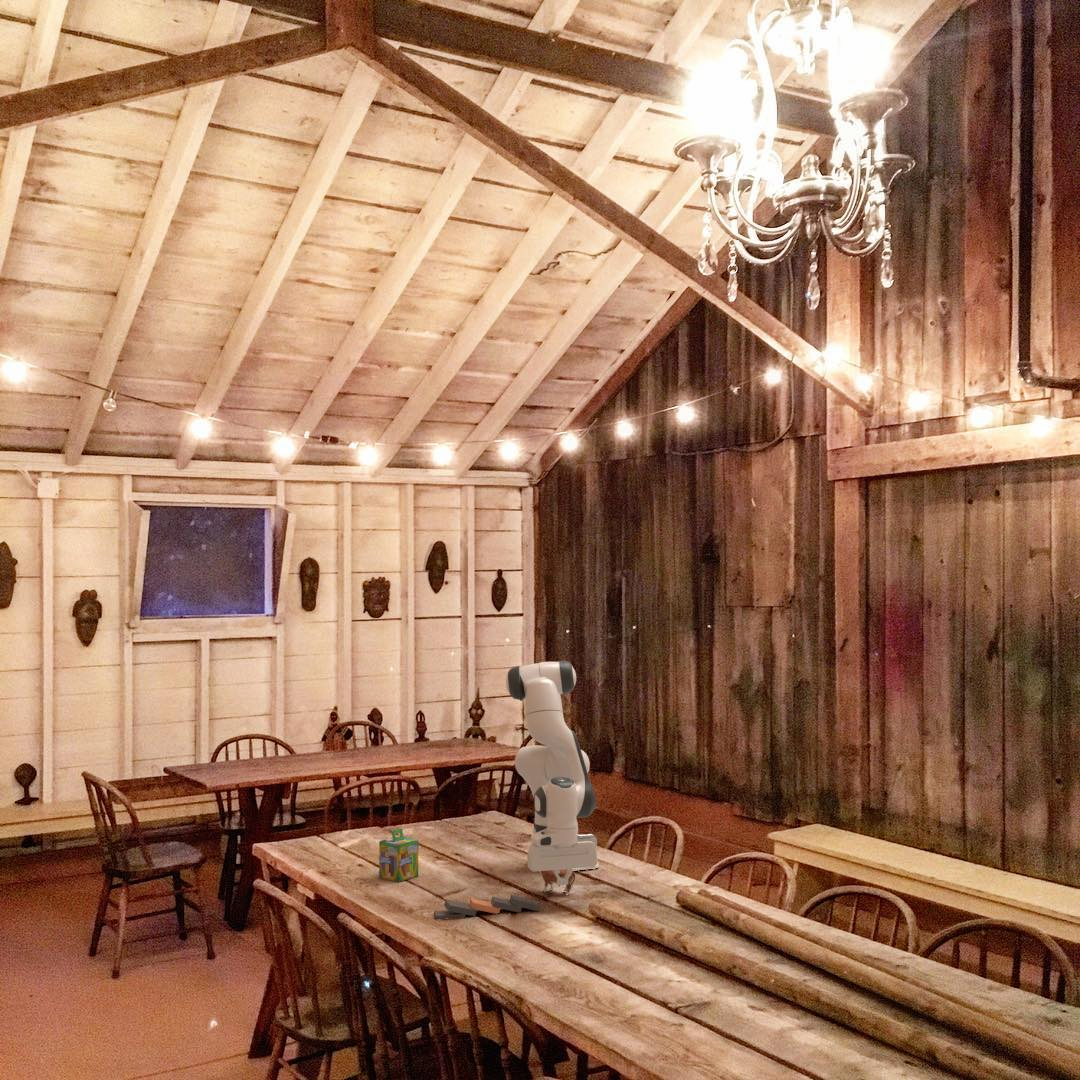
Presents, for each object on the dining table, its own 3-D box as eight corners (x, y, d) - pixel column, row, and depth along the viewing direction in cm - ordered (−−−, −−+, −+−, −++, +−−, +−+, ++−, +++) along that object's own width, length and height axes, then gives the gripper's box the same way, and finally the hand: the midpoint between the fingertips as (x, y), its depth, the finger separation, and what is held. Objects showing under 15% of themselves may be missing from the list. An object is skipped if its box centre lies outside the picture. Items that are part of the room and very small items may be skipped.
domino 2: (471, 905, 306) (445, 900, 303) (476, 910, 301) (449, 905, 299) (470, 910, 306) (443, 905, 303) (475, 916, 301) (448, 911, 298)
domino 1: (462, 909, 305) (433, 910, 303) (465, 914, 300) (436, 916, 298) (462, 914, 305) (433, 916, 303) (465, 919, 300) (436, 921, 298)
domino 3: (497, 903, 308) (470, 897, 307) (500, 908, 304) (472, 902, 302) (495, 909, 308) (468, 903, 307) (498, 914, 303) (471, 908, 302)
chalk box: (398, 883, 335) (399, 834, 336) (377, 878, 341) (378, 830, 341) (419, 876, 342) (419, 829, 343) (398, 872, 348) (399, 825, 348)
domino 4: (518, 902, 310) (492, 896, 308) (521, 907, 305) (494, 901, 304) (517, 907, 310) (490, 901, 308) (520, 912, 305) (493, 906, 304)
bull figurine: (538, 887, 331) (538, 860, 331) (577, 893, 324) (577, 866, 324) (531, 890, 327) (531, 863, 327) (570, 897, 320) (570, 869, 320)
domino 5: (537, 901, 311) (511, 894, 309) (540, 906, 306) (514, 899, 305) (535, 906, 311) (509, 899, 309) (539, 911, 306) (512, 904, 305)
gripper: (593, 830, 317) (593, 878, 317) (525, 835, 312) (525, 884, 311) (600, 836, 311) (600, 884, 311) (531, 840, 306) (531, 890, 305)
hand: (562, 884), depth 311 cm, fingers closed
